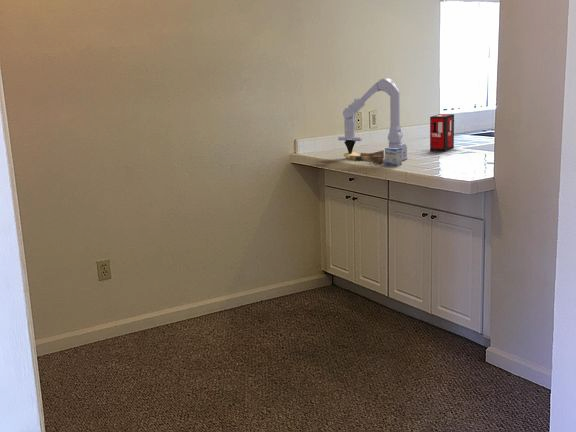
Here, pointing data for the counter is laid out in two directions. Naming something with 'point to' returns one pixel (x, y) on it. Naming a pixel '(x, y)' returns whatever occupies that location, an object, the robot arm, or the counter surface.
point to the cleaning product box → (442, 132)
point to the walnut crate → (378, 159)
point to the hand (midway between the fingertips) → (350, 153)
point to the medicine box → (393, 156)
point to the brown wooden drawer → (367, 156)
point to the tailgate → (351, 155)
